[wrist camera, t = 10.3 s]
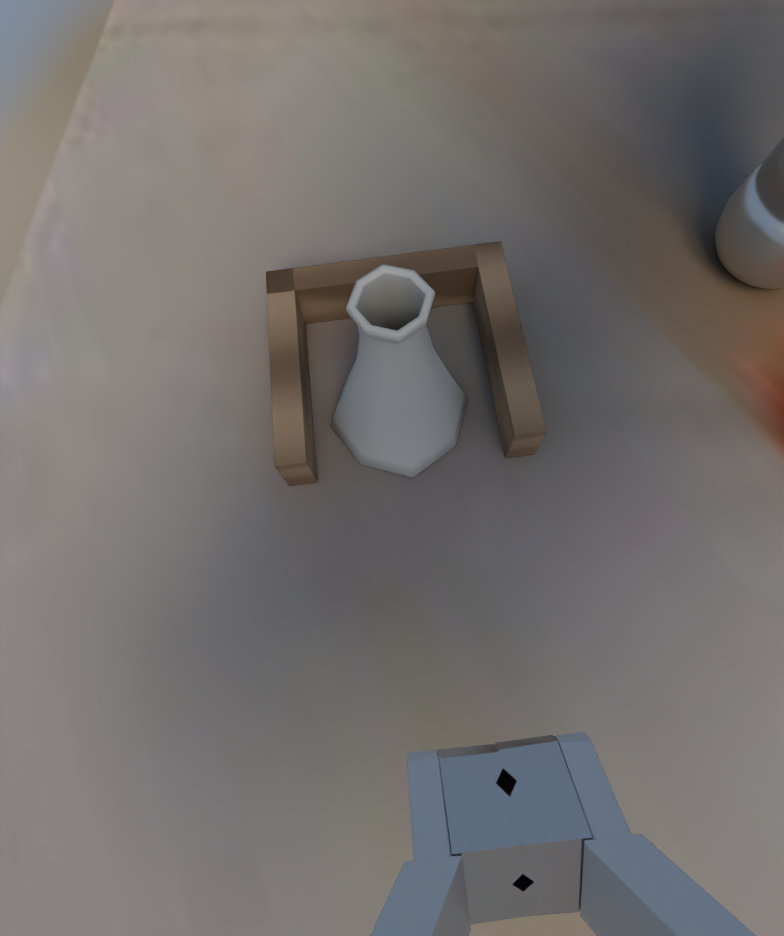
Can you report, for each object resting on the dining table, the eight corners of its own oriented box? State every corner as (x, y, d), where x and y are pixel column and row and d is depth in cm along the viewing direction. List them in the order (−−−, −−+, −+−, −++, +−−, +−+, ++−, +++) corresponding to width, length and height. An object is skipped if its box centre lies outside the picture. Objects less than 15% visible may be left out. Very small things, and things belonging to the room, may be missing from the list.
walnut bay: (279, 305, 32) (266, 271, 29) (493, 278, 32) (500, 241, 29) (289, 485, 28) (274, 466, 25) (533, 454, 28) (546, 431, 25)
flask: (383, 336, 31) (368, 196, 22) (490, 397, 29) (524, 274, 20) (307, 431, 29) (255, 323, 20) (417, 502, 28) (417, 420, 18)
